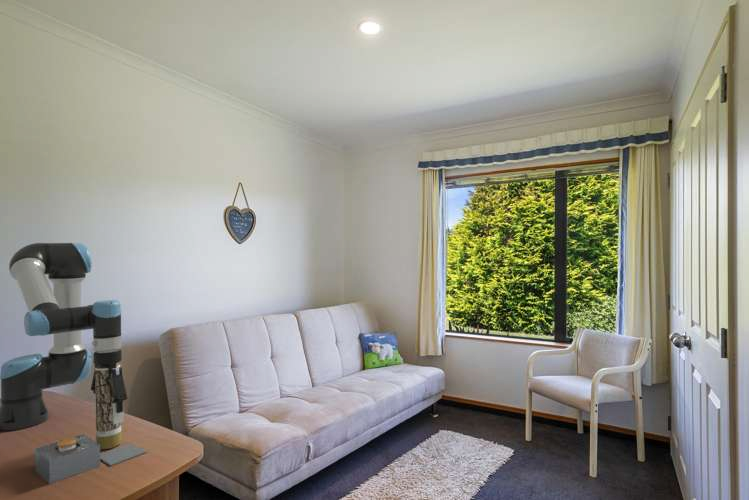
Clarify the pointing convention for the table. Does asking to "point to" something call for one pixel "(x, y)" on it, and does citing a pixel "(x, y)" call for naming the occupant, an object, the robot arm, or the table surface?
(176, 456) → the table surface
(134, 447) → the mat
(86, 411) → the table surface
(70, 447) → the plunger
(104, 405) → the paper tube
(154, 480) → the table surface
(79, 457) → the block
